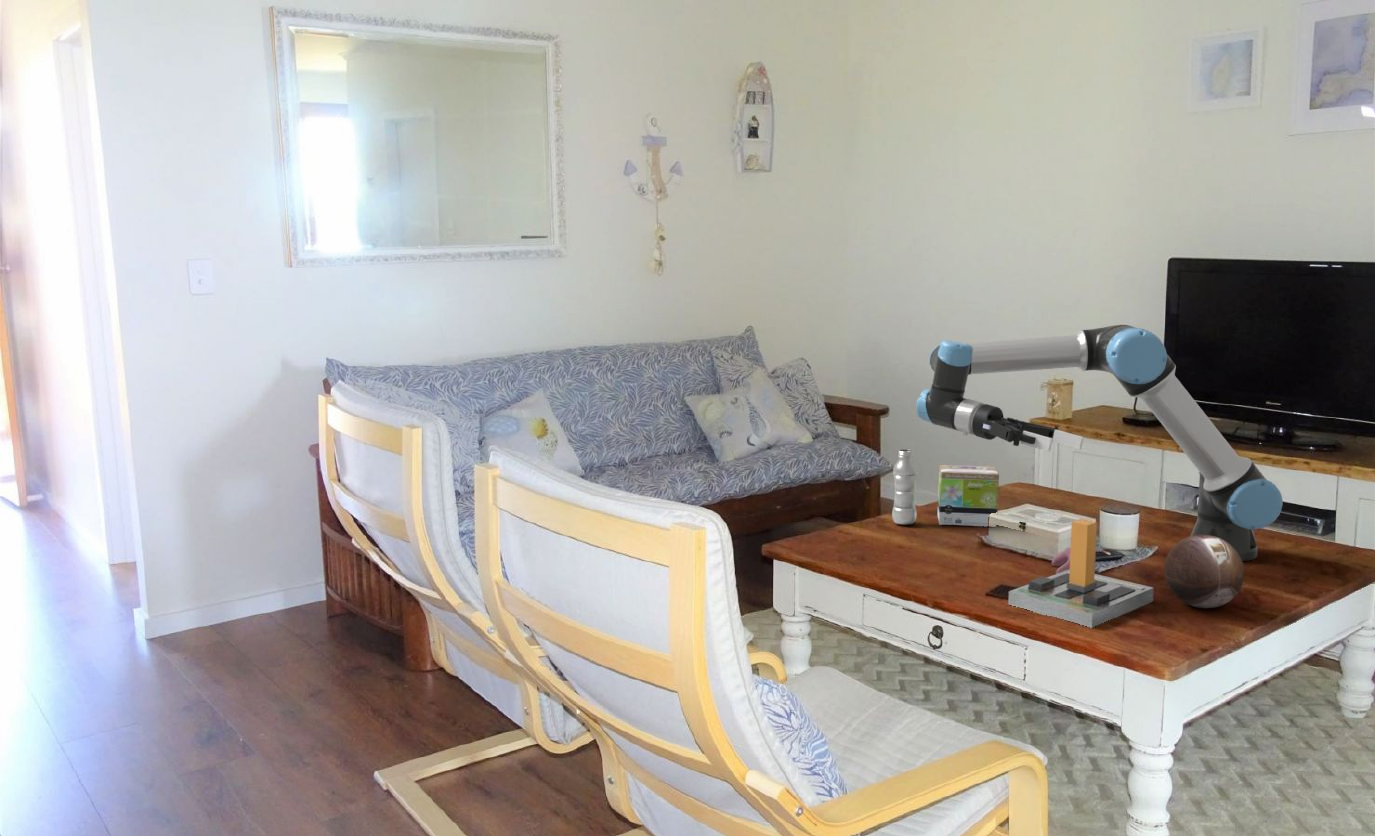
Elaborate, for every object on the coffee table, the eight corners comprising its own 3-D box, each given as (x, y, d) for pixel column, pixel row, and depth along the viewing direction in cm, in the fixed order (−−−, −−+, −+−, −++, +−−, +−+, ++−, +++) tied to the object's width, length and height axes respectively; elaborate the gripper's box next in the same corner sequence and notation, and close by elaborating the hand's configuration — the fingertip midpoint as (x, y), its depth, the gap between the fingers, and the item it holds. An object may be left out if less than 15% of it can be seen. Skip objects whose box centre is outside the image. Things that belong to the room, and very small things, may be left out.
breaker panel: (1071, 581, 254) (1072, 561, 253) (1152, 601, 239) (1154, 580, 239) (1008, 605, 238) (1009, 584, 238) (1091, 628, 224) (1092, 605, 223)
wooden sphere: (1204, 622, 226) (1208, 549, 224) (1146, 600, 240) (1150, 531, 238) (1258, 611, 232) (1263, 540, 230) (1199, 591, 246) (1203, 523, 243)
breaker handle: (1079, 583, 241) (1081, 518, 239) (1096, 587, 238) (1099, 521, 236) (1066, 588, 238) (1069, 522, 236) (1083, 592, 235) (1086, 525, 233)
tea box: (939, 526, 302) (940, 471, 300) (937, 516, 312) (938, 463, 310) (997, 527, 300) (999, 472, 298) (993, 518, 310) (995, 464, 307)
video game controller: (1073, 585, 256) (1088, 559, 254) (1054, 575, 257) (1070, 549, 255) (1067, 572, 266) (1082, 547, 264) (1049, 563, 266) (1064, 537, 264)
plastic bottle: (889, 526, 303) (890, 452, 300) (894, 520, 309) (895, 447, 306) (913, 528, 301) (915, 453, 297) (918, 521, 307) (920, 448, 304)
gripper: (1005, 434, 265) (1089, 459, 250) (945, 437, 248) (1032, 463, 233) (1012, 403, 264) (1097, 425, 249) (952, 403, 246) (1040, 427, 232)
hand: (1066, 444), depth 241 cm, fingers open, 13 cm apart
